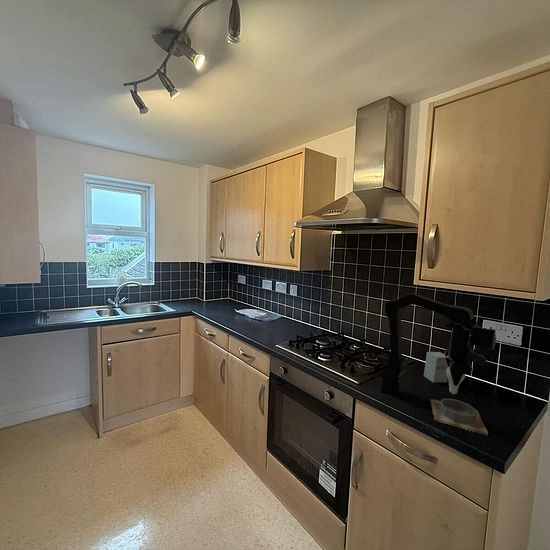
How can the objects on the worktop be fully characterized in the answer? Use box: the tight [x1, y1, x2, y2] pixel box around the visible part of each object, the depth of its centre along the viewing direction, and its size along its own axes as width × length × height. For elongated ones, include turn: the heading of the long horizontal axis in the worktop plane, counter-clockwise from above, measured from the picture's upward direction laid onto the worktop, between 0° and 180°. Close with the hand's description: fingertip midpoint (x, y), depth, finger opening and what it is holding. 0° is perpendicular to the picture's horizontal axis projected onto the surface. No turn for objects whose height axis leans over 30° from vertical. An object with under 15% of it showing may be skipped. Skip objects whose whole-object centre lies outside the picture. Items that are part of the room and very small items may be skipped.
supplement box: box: [423, 351, 448, 384], centre depth 144 cm, size 7×7×13 cm
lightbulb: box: [446, 367, 466, 395], centre depth 111 cm, size 6×6×11 cm
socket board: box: [430, 398, 489, 437], centre depth 111 cm, size 16×16×4 cm
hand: (454, 382), depth 111 cm, fingers closed on lightbulb, 6 cm apart
